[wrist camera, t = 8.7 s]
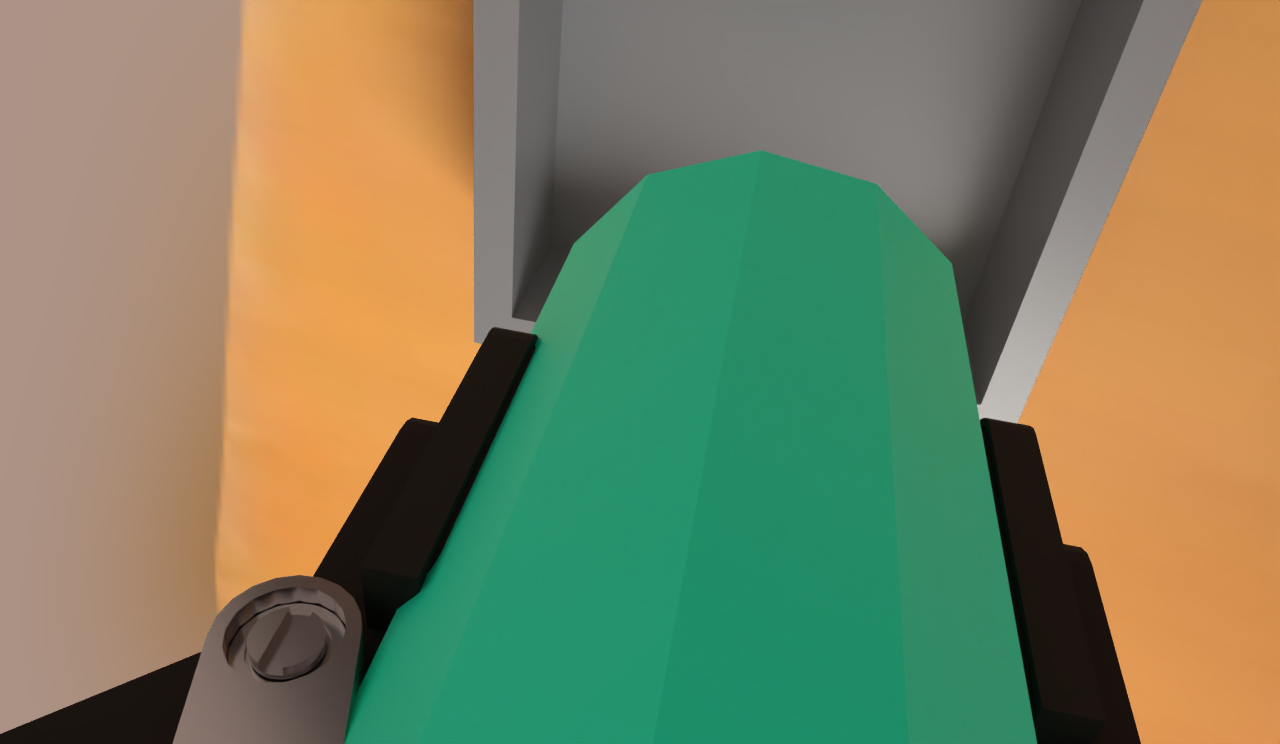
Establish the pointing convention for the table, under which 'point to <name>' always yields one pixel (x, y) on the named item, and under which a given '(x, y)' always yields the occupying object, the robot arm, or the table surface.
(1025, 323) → the bin
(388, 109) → the table surface
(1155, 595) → the table surface
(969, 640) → the candle
